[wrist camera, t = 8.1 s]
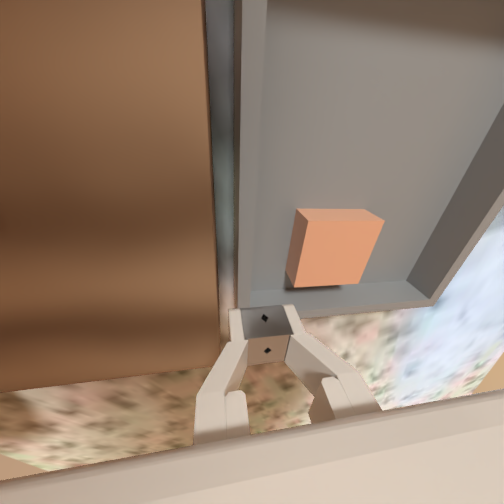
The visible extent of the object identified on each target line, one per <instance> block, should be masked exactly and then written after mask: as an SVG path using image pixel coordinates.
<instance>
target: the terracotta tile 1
mask: <svg viewBox="0 0 504 504" xmlns="http://www.w3.org/2000/svg"><path fill="white" fill-rule="evenodd" d="M384 222H385V220H383V219H381V218H379V217H377V216H376V215H374V214H372V213H370V212H369V211H367V210H365V209H296V213H295V219H294V224H293V230H292V235H291V241H290V247H289V252H288V258H287V263H286V269H285V270H286V272H287V274H288V276H289V278H290V280H291V283H292V285H293V287H310V286H328V285H345V284H358V283H359V281H360V279H361V276H362V274H363V271H364V269H365V267H366V264H367V262H368V260H369V257H370V255H371V253H372V250H373V248H374V245H375V243H376V241H377V238H378V236H379V234H380V231H381V229H382V226H383V224H384Z"/></svg>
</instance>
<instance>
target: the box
mask: <svg viewBox="0 0 504 504" xmlns="http://www.w3.org/2000/svg"><path fill="white" fill-rule="evenodd" d="M503 205H504V0H234V300H235V309H238V308H252V307H263V306H273V305H285V304H293V305H294V307H295V309H296V311H297V313H298V316H299V318H300V319H302V318H313V317H324V316H334V315H345V314H355V313H366V312H376V311H387V310H397V309H408V308H418V307H429V306H434V304H435V303H436V301H437V300H438V299H439V297H440V296H441V294H442V293H443V291H444V290H445V289H446V287H447V286H448V284H449V283H450V281H451V280H452V278H453V277H454V276H455V274H456V273H457V271H458V270H459V268H460V267H461V266H462V264H463V263H464V261H465V260H466V258H467V257H468V255H469V254H470V253H471V251H472V250H473V248H474V247H475V245H476V244H477V243H478V241H479V240H480V238H481V237H482V235H483V234H484V233H485V231H486V230H487V228H488V227H489V225H490V224H491V222H492V221H493V220H494V218H495V217H496V215H497V214H498V212H499V211H500V210H501V208H502V207H503ZM296 209H365V210H367V211H369V212H370V213H372V214H374V215H376V216H377V217H379V218H381V219H383V220H385V222H384V224H383V226H382V229H381V231H380V234H379V236H378V238H377V241H376V243H375V245H374V248H373V250H372V253H371V255H370V257H369V260H368V262H367V264H366V267H365V269H364V271H363V274H362V276H361V279H360V281H359V283H358V284H345V285H328V286H310V287H293V285H292V283H291V280H290V278H289V276H288V274H287V272H286V270H285V269H286V263H287V258H288V252H289V247H290V241H291V235H292V230H293V224H294V219H295V213H296Z"/></svg>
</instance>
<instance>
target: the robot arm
mask: <svg viewBox="0 0 504 504" xmlns="http://www.w3.org/2000/svg"><path fill="white" fill-rule="evenodd" d="M228 322H229V342H227V344H226V345H225V347H224V349H223V350H222V352H221V354H220V356H219V357H218V359H217V361H216V362H215V364H214V366H213V368H212V369H211V371H210V373H209V374H208V376H207V378H206V380H205V381H204V383H203V385H202V386H201V388H200V390H199V392H198V393H197V395H196V409H195V423H194V438H193V445H192V446H187V447H181V448H176V449H170V450H165V451H159V452H154V453H149V454H143V455H138V456H132V457H127V458H121V459H116V460H110V461H105V462H99V463H94V464H88V465H83V466H78V467H72V468H67V469H61V470H56V471H50V472H45V473H39V474H34V475H29V476H23V477H17V478H12V479H6V480H1V481H0V504H504V389H499V390H493V391H488V392H482V393H477V394H471V395H466V396H460V397H455V398H449V399H444V400H439V401H433V402H428V403H422V404H417V405H411V406H406V407H400V408H395V409H389V410H384V411H382V409H381V408H380V406H379V404H378V403H377V401H376V399H375V397H374V396H373V394H372V392H371V391H370V389H369V387H368V385H367V384H366V382H365V380H364V379H363V377H362V375H361V373H360V372H359V371H358V370H357V369H355V368H354V367H353V366H351V365H350V364H349V363H348V362H346V361H345V360H344V359H342V358H341V357H340V356H339V355H337V354H336V353H335V352H333V351H332V350H331V349H330V348H328V347H327V346H326V345H324V344H323V343H322V342H321V341H319V340H318V339H317V338H315V337H314V336H313V335H312V334H310V333H306V331H305V329H304V327H303V325H302V322H301V320H300V318H299V316H298V313H297V311H296V309H295V307H294V305H293V304H285V305H273V306H263V307H252V308H238V309H229V310H228ZM283 361H285V363H286V365H287V366H288V367H289V368H290V369H291V370H292V371H293V373H294V374H295V375H296V376H297V377H298V378H299V379H300V381H301V382H302V383H303V384H304V385H305V386H306V388H307V389H308V390H309V391H310V392H311V393H312V394H313V396H314V397H315V398H314V400H313V402H312V404H311V407H310V409H309V411H308V414H309V417H310V420H311V423H312V424H307V425H302V426H296V427H291V428H285V429H280V430H274V431H269V432H263V433H258V434H252V435H250V427H249V419H248V411H247V403H246V395H245V393H244V392H243V391H241V390H238V389H239V386H240V384H241V381H242V379H243V376H244V374H245V371H246V369H247V366H251V365H258V364H264V363H273V362H283Z"/></svg>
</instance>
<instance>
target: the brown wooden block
mask: <svg viewBox="0 0 504 504" xmlns="http://www.w3.org/2000/svg"><path fill="white" fill-rule="evenodd" d="M219 356H220V319H219V284H218V263H217V242H216V221H215V200H214V179H213V158H212V137H211V116H210V95H209V74H208V53H207V32H206V11H205V0H0V393H2V392H10V391H18V390H26V389H34V388H42V387H51V386H59V385H67V384H75V383H83V382H91V381H99V380H107V379H115V378H123V377H131V376H139V375H147V374H155V373H163V372H171V371H180V370H188V369H196V368H204V367H212V366H214V364H215V362H216V361H217V359H218V357H219Z"/></svg>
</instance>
